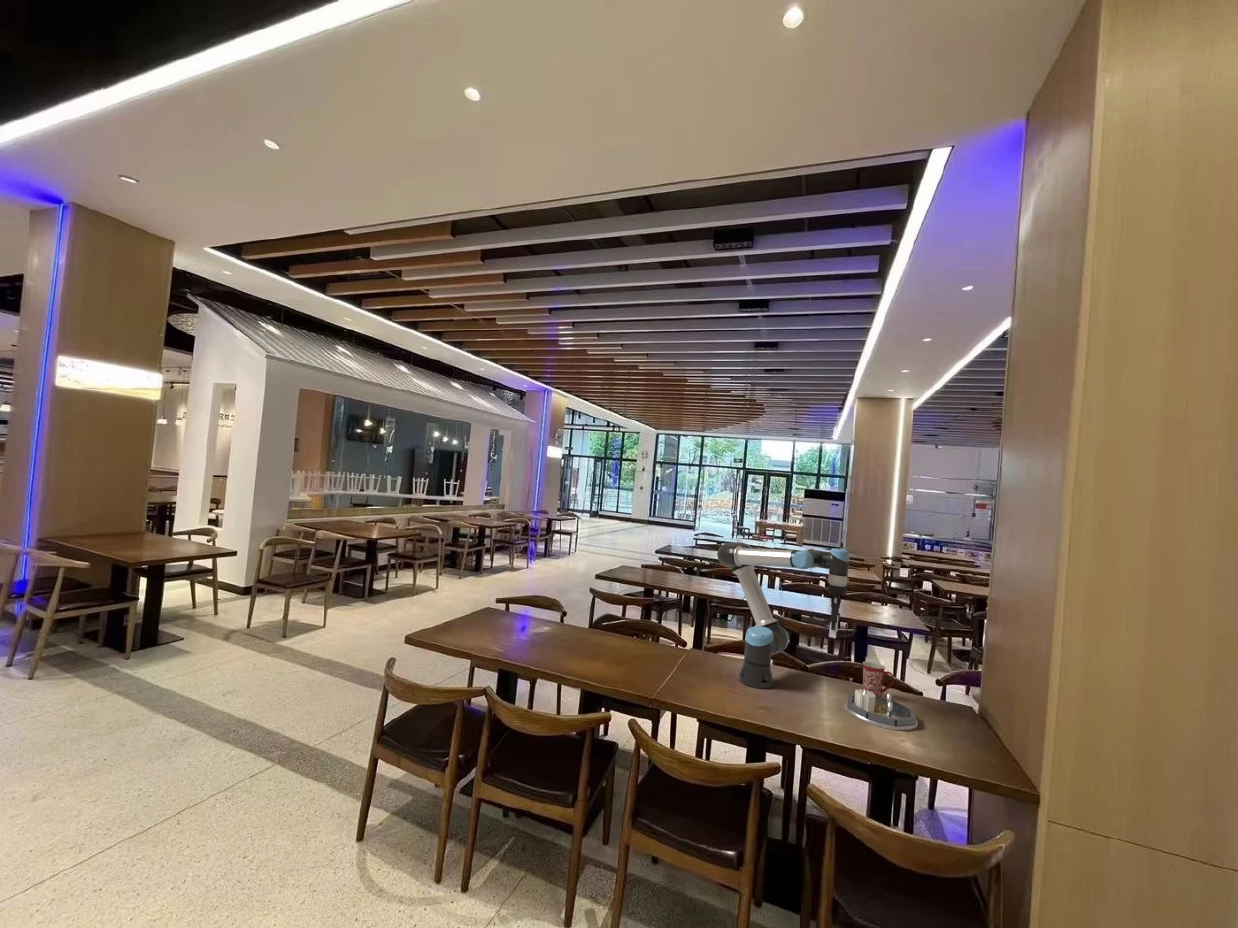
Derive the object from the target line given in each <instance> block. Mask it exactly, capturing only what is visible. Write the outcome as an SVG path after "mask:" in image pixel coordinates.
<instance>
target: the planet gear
mask: <svg viewBox="0 0 1238 928" xmlns="http://www.w3.org/2000/svg"><path fill="white" fill-rule="evenodd" d="M863 691H864V690H863V689H855V693H854V694H855V703H854V704H856V705H857V706H859V707H861V708H863V709H864V710H866V711H868V712H873V711H874V708H875V694H873V693H871V692H870V691H867V695H866V694H863Z"/></svg>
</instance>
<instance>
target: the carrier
mask: <svg viewBox="0 0 1238 928" xmlns="http://www.w3.org/2000/svg"><path fill="white" fill-rule="evenodd" d="M863 694H866V695H867V691H866V690H864V691H863ZM847 696H848V697H847V699H846V700H845V702H844V709H845V711H846V712H847V713H848V714H850V715H851V716H853V717H854V718H856V719H858V720H859V721H862V722H864V723H867V724H869V725H872V726H875V727H879V728H883V729H886V730H893V731H899V732H900V731H901V732H902V731H903V732H907V731H908V732H909V731H913V730H915V729H917V728H918V725H919V723H918V719H917V718H916V713H915V709H913V708H911V707H909V706H907V705H905V704H903V703H901V702H899V701H897V700H896V699H892V693H890V692H887V694H886V697H885V696H882V695H881V696H877V695H875V708H874V711H873V712H868V711H866V710H864V709H863V708H861V707H859V706H857V705H856V704H854V703H855V693H849V694H848V695H847Z"/></svg>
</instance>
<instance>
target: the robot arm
mask: <svg viewBox="0 0 1238 928" xmlns="http://www.w3.org/2000/svg"><path fill="white" fill-rule="evenodd" d="M716 552H717V554H716V556H717V561H718V562H719V563H720V564H721V565H722V566H723V567H726V568H730V569H731V571H732V574H734V575H736V576H737V578H738V581H739V584H740V587H741V589H742V591H743V594H744V596H745V600H746V603H747V604H748V607H749V609H750V612H751V615H752V617H753V619H754V622H755V625H754V626H752V627H749V628H748V629H747V630H746V635H745V645H744V655H743V656H744V657H743V663H742V665H741V668H740V669H739V672H738V677H737V680H738V681H739V682H740V683H742V684H743V685H746V686H748V687H752V688H756V689H764V690H765V689H770V688H773V687H774V677H773V673H772V669H771V665H772V664H771V663H772V656H773V655H776V654H780V653H782V652H783V651H784V650H786V648H787V647H788V646H789V639H790V638H789V634H788V632H787V630H786V629H785V628H784V627H782V626H781V625H780V622H779V620H778V619H776V618H774V617H773V614H772V611H771V609H770V607H769V604H768V602H767V599H766V596H765V593H764V592H763V589H762V586H761V584H760V582H759V579H758V577H757V574H756V572H755V567H756V566H759V567H760V566H761V567H776V568H777V567H778V568H794V569H798V570H807V569H814V568H819V569H826V570H828V571H829V572H828V577H827V578H828V581H827V582H828V584H827V593H829V594H830V595H833V596H831V598H830V603H831V604H830V607H831V610H830V611H831V612H830V618H829V619H828V622H829V633H828V637H829V638H833V639H836V638H837V632H838V628H839V626H838V625H839V617H841V613H840V608H841V604H842V598H840V597H841V596H846V595H847V584H848V582H849V581H850V579H849V578H848V576H849V575H848V574H849V564H850V552H849V551H848V550H847V549H843V548H834V547H833V548H831V549H830V551H824V550H818V549H814V548H805V549H803V550H790V549H772V548H769V549H768V548H752V546H750V545H749V544H748V543H745V542H743V541H742V542H741V541H740V542H737V541H736V542H726V543H724V544H721V546H719V548H718V550H717V551H716Z"/></svg>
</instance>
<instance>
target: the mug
mask: <svg viewBox="0 0 1238 928" xmlns="http://www.w3.org/2000/svg"><path fill="white" fill-rule="evenodd" d="M862 664H863V665H862V666H863V668H862V669H863V670H862V672H863V673H862V690H866V691H870V692H871V693H873V694H875V695H877V696H881V697H882V694H883V693H885V692H886V691H887V690H888V689H890V687H892V685H893V684H894V681H895V676H894V674H893V673H892V672H891V671H889V670H888V671H885V669H886V666H885V665H883V664H882V663H878V662H874V661H863V662H862ZM887 675H890V676H891V681H890V683H889V684H888V685H886V687H885V688H883V685H884V684H883V682H884V678H885V677H886V676H887Z"/></svg>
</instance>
